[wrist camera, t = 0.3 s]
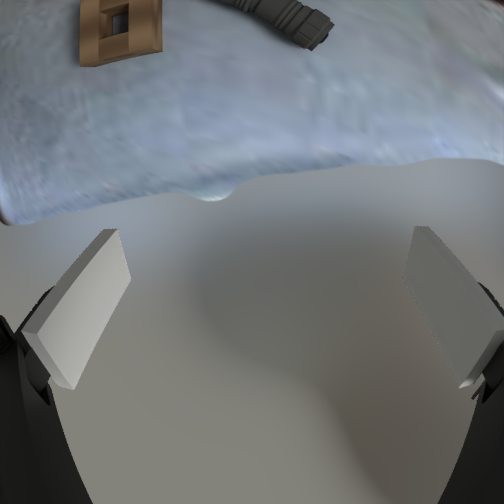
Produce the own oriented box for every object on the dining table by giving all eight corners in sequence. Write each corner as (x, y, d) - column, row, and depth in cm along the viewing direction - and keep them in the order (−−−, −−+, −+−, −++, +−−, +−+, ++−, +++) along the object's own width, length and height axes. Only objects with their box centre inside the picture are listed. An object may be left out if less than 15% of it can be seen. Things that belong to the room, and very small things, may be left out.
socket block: (95, 5, 25) (80, 0, 22) (162, -13, 25) (152, -22, 21) (95, 66, 30) (79, 66, 27) (162, 51, 30) (151, 48, 27)
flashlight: (333, 28, 28) (344, 19, 23) (309, 57, 30) (316, 52, 26) (229, -31, 24) (224, -47, 19) (204, -2, 26) (196, -15, 22)
